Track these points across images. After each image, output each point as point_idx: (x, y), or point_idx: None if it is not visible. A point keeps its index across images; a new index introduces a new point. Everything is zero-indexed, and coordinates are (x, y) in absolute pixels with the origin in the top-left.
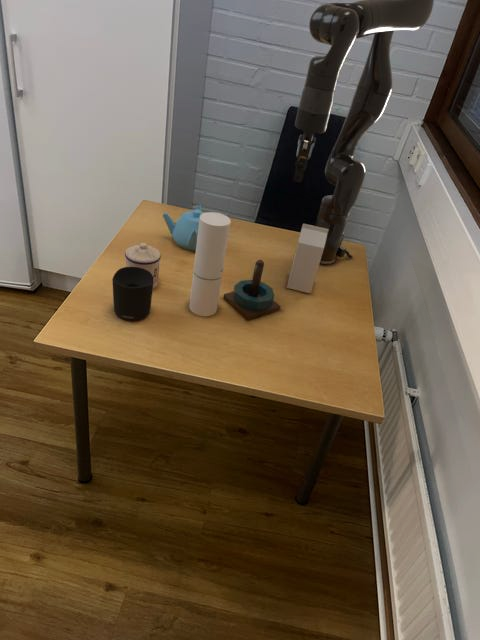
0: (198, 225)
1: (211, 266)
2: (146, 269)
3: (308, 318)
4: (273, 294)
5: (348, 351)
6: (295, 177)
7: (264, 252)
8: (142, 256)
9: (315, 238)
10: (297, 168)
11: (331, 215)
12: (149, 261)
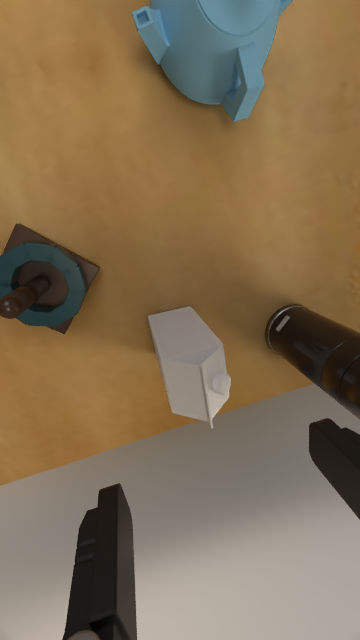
0: (191, 14)
1: None
2: None
3: (80, 375)
4: (55, 324)
5: (40, 444)
6: (78, 535)
7: (254, 229)
8: None
9: (185, 396)
10: (68, 628)
11: (336, 382)
12: None
